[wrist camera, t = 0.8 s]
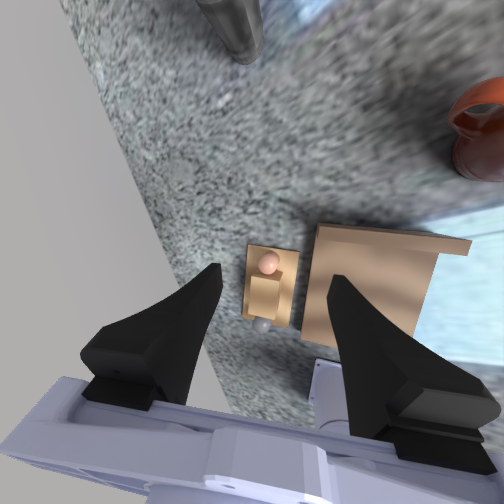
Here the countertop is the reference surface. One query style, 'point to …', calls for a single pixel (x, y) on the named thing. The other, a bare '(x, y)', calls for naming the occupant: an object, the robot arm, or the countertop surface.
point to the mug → (479, 132)
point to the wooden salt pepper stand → (269, 286)
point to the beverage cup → (236, 26)
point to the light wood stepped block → (373, 272)
